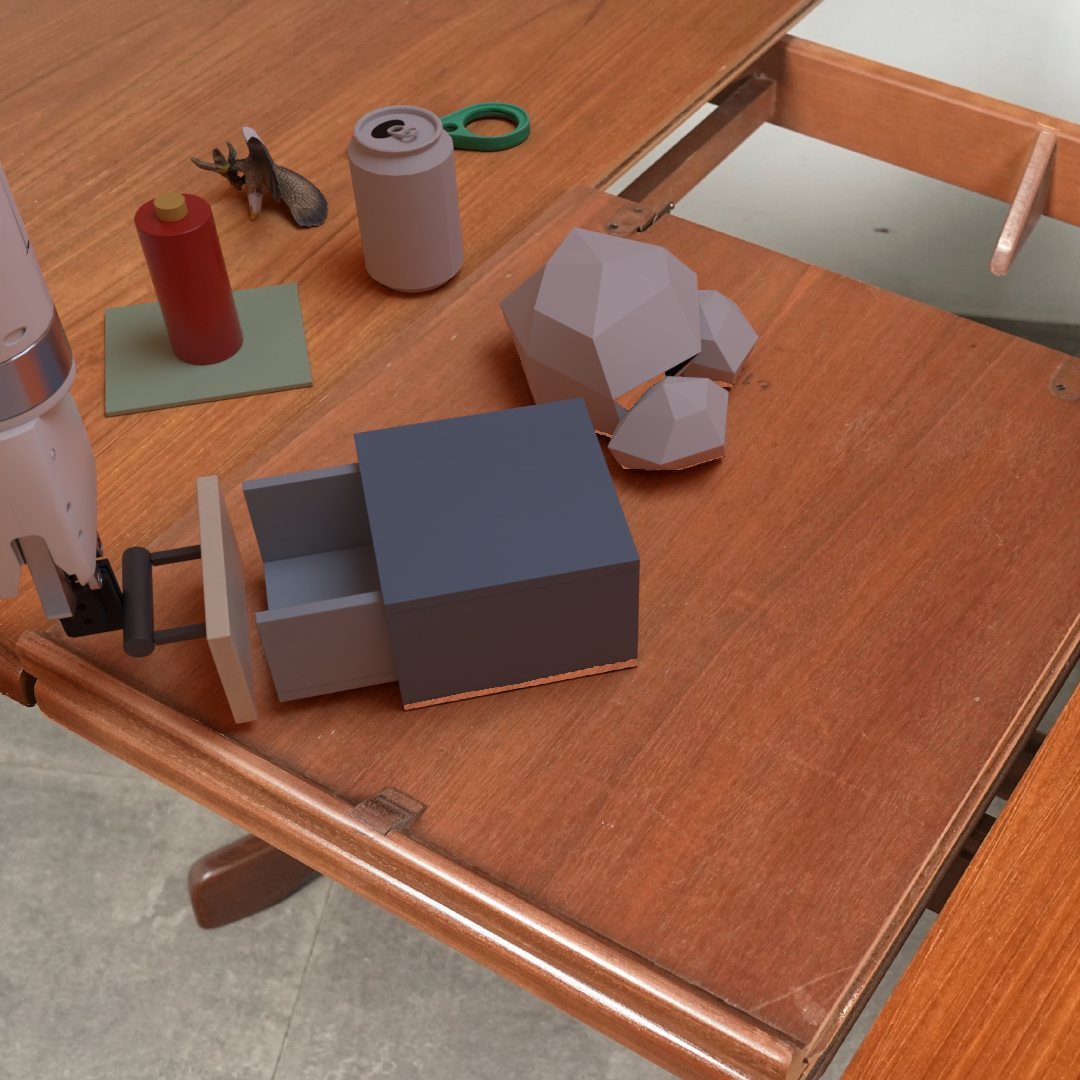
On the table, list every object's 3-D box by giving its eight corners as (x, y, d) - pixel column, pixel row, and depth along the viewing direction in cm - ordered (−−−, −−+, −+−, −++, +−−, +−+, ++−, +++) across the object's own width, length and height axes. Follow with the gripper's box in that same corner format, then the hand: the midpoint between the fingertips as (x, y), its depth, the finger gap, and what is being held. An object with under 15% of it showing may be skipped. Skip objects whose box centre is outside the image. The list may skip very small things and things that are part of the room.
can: (411, 230, 109) (392, 87, 99) (484, 263, 106) (473, 118, 97) (346, 276, 104) (321, 131, 95) (421, 311, 102) (402, 165, 93)
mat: (106, 417, 94) (105, 412, 94) (106, 313, 101) (104, 308, 101) (313, 386, 96) (312, 381, 96) (297, 286, 104) (296, 282, 103)
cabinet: (404, 711, 77) (384, 604, 71) (373, 542, 86) (353, 433, 79) (637, 667, 80) (640, 559, 73) (585, 506, 88) (583, 396, 81)
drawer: (146, 741, 75) (109, 656, 69) (142, 578, 83) (108, 491, 77) (460, 682, 78) (448, 596, 72) (427, 530, 86) (414, 442, 80)
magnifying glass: (520, 110, 121) (519, 91, 119) (538, 144, 117) (537, 126, 116) (348, 137, 118) (345, 118, 116) (362, 173, 114) (359, 155, 113)
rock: (756, 312, 102) (767, 196, 94) (756, 501, 89) (769, 384, 81) (511, 301, 102) (503, 186, 95) (476, 487, 89) (464, 370, 82)
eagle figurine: (187, 212, 108) (274, 224, 104) (191, 116, 106) (279, 125, 102) (255, 219, 115) (340, 231, 111) (260, 130, 113) (346, 138, 109)
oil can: (173, 370, 97) (130, 226, 88) (171, 327, 100) (129, 184, 91) (245, 359, 97) (209, 216, 89) (241, 317, 100) (206, 175, 92)
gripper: (-90, 274, 66) (33, 540, 80) (-125, 481, 57) (22, 743, 71) (70, 253, 67) (164, 519, 81) (63, 452, 58) (171, 715, 72)
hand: (98, 622), depth 76 cm, fingers closed
